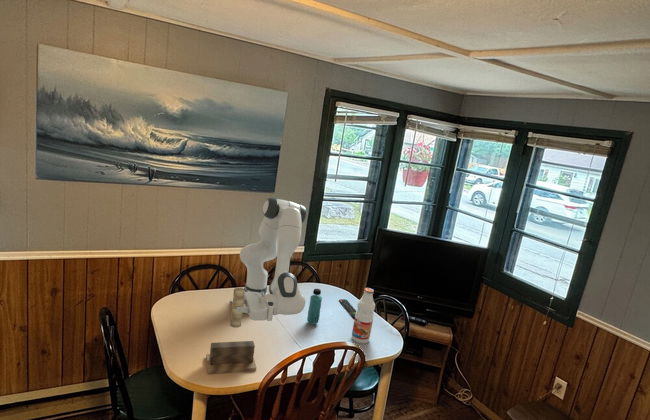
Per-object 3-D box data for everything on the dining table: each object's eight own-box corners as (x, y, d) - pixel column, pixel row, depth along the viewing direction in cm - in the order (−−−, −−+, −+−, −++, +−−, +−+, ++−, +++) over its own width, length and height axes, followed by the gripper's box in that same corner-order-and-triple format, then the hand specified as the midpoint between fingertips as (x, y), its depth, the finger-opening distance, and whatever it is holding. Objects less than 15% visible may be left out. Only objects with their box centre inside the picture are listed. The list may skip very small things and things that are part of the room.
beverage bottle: (314, 328, 220) (319, 293, 216) (303, 323, 223) (309, 289, 219) (320, 324, 225) (325, 290, 221) (310, 319, 229) (315, 286, 224)
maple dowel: (228, 323, 174) (231, 288, 171) (237, 321, 177) (241, 286, 174) (233, 328, 171) (237, 292, 168) (243, 326, 174) (246, 291, 171)
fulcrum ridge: (207, 374, 169) (209, 353, 167) (206, 357, 180) (208, 337, 178) (256, 370, 176) (258, 350, 174) (251, 354, 187) (253, 336, 185)
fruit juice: (372, 341, 216) (382, 291, 210) (360, 345, 209) (370, 294, 203) (359, 332, 222) (368, 284, 216) (347, 337, 216) (356, 287, 210)
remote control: (353, 320, 237) (353, 317, 237) (338, 301, 259) (338, 299, 258) (361, 319, 239) (362, 317, 238) (345, 301, 261) (346, 299, 260)
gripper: (264, 287, 186) (233, 288, 181) (273, 308, 167) (239, 309, 162) (262, 300, 187) (231, 301, 182) (272, 323, 168) (238, 324, 164)
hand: (235, 305), depth 172 cm, fingers closed on maple dowel, 4 cm apart
